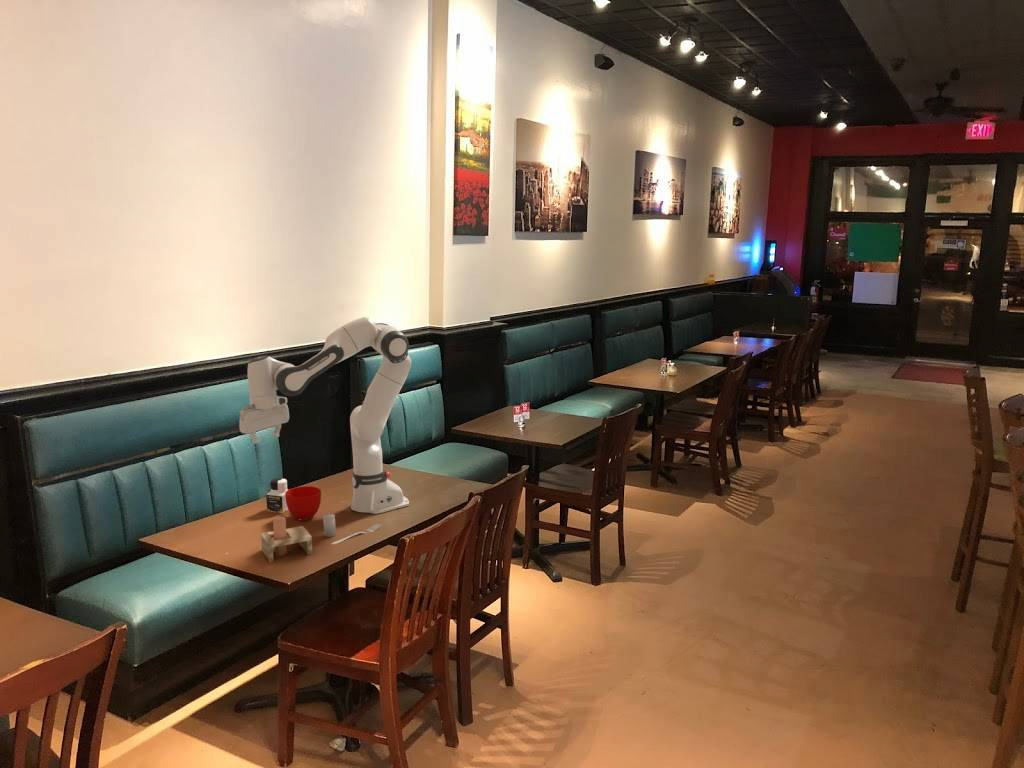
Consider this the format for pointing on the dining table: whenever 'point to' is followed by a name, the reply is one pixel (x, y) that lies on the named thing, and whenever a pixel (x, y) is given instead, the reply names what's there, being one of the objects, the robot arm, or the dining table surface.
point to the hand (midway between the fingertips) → (266, 440)
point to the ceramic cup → (303, 501)
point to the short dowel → (329, 525)
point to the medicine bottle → (277, 496)
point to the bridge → (286, 541)
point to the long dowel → (280, 534)
